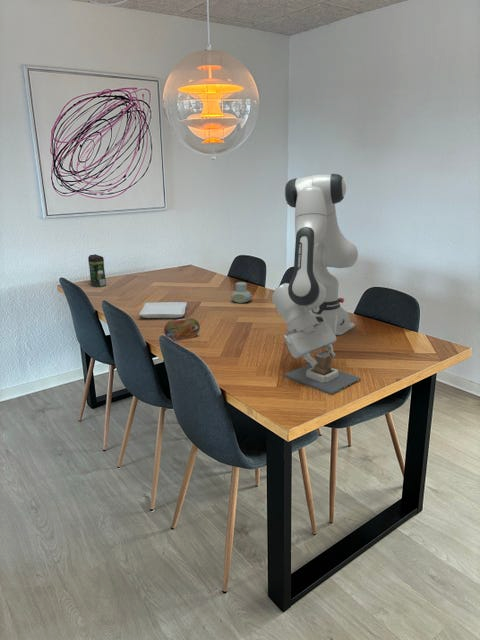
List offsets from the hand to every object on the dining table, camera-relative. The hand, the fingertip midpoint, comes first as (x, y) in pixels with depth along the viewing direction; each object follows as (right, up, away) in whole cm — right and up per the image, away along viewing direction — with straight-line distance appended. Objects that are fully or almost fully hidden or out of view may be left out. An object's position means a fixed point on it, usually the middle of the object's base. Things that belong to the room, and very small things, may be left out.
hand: (324, 361), depth 166 cm
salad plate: (-65, +16, +77) cm, 102 cm away
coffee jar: (-113, +34, +134) cm, 179 cm away
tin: (-52, +6, +42) cm, 68 cm away
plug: (0, -5, +2) cm, 6 cm away
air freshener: (-27, +23, +95) cm, 102 cm away
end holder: (0, -6, +2) cm, 6 cm away
